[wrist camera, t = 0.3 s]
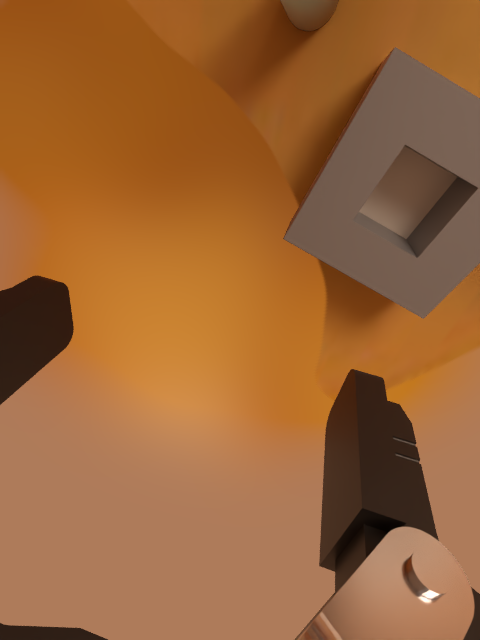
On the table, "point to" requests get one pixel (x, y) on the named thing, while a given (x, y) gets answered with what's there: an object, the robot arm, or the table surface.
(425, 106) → the socket block
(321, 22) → the peg
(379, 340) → the table surface
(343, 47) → the table surface
